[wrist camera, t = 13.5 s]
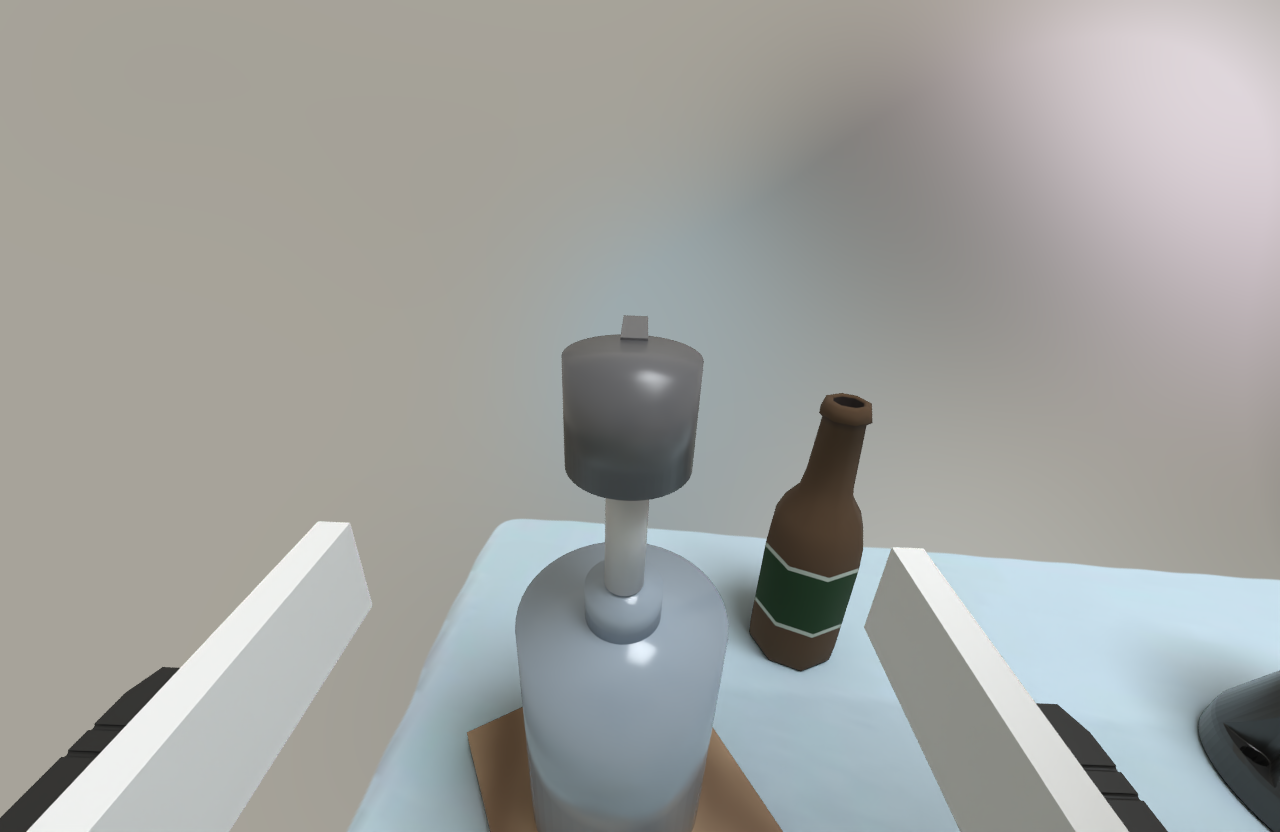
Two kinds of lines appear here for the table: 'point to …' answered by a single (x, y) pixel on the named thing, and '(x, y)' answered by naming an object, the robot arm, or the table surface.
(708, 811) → the walnut board
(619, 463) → the pump plunger
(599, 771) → the soap dispenser
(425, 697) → the table surface
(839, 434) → the beer bottle
